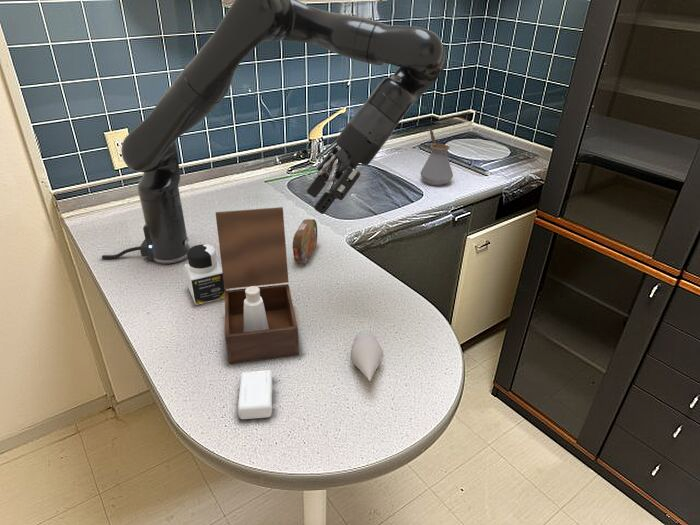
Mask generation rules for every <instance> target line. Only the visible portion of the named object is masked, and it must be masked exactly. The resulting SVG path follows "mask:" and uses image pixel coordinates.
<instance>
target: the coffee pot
mask: <svg viewBox="0 0 700 525" xmlns="http://www.w3.org/2000/svg"><path fill="white" fill-rule="evenodd" d="M427 133H428V134H430V139H431V142H432V144H431V145H430V149H431V152H430V154H429V156H428V158H427V160H426V161H425V163H424V165H423V167H422V169H421V171H420V173H419V174H420V177H421V179H422V180H423V181H424V183H426V184H427V185H430V186H437V187H438V186H439V187H440V186H445V185H447V183H449V182H450V181H452V179H453V177H454V174H453V170H452V167H451V164H450V160H449V157H448V154H447V153H448V151H449V150H450V146H449V145H446V144H443V143H436V138H435V135H434V129H432V128H429V129H428V131H427Z"/></svg>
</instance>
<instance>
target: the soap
mask: <svg viewBox="0 0 700 525" xmlns="http://www.w3.org/2000/svg"><path fill="white" fill-rule="evenodd" d="M238 393H239V394H238V402H237V414H238V417H239V419H240V420H250V419H251V420H252V419H264V418H265V419H266V418H270V417H272V414H273V413H272V412H273V372H272V371H271V370H269V369H266V370H255V371H254V370H253V371H243V372H242V373H241V375H240V382H239V392H238Z"/></svg>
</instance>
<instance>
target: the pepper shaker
mask: <svg viewBox="0 0 700 525" xmlns="http://www.w3.org/2000/svg"><path fill="white" fill-rule="evenodd" d="M258 287H259V286H250V287H245V288H246V290H245V293H246V299H245V300H244V328H243V332H250V331H258V330H267V329H269V327H268V322H267V317H266V313H265V308H264V303H263V300H262V298H261V297H260V293H259V292H260V289H259V288H258Z"/></svg>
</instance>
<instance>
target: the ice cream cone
mask: <svg viewBox="0 0 700 525" xmlns="http://www.w3.org/2000/svg"><path fill="white" fill-rule="evenodd" d="M383 357H384V350H383V348H382V346H381V344H380V342H379V341H378V339H377V337H376V335H375V334H374V333H372V332H371V331H367V330H364V331H363V330H362V331H360V332H358V333H357V334H356V335H355V337H354V340H353V344H352V347H351V350H350V359H351V361H352V363H353V364H354V365H355V366H356V367H357V369H358V370H359V371H360V372H361V373H362V374H363V375H364V377H365V378H366V379H367V380H368V381H369V382H371V380H372V378H373V376H374V375H375V372H376V370H377V369H378V367H379V365H380V364H381V362H382V360H383Z"/></svg>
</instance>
